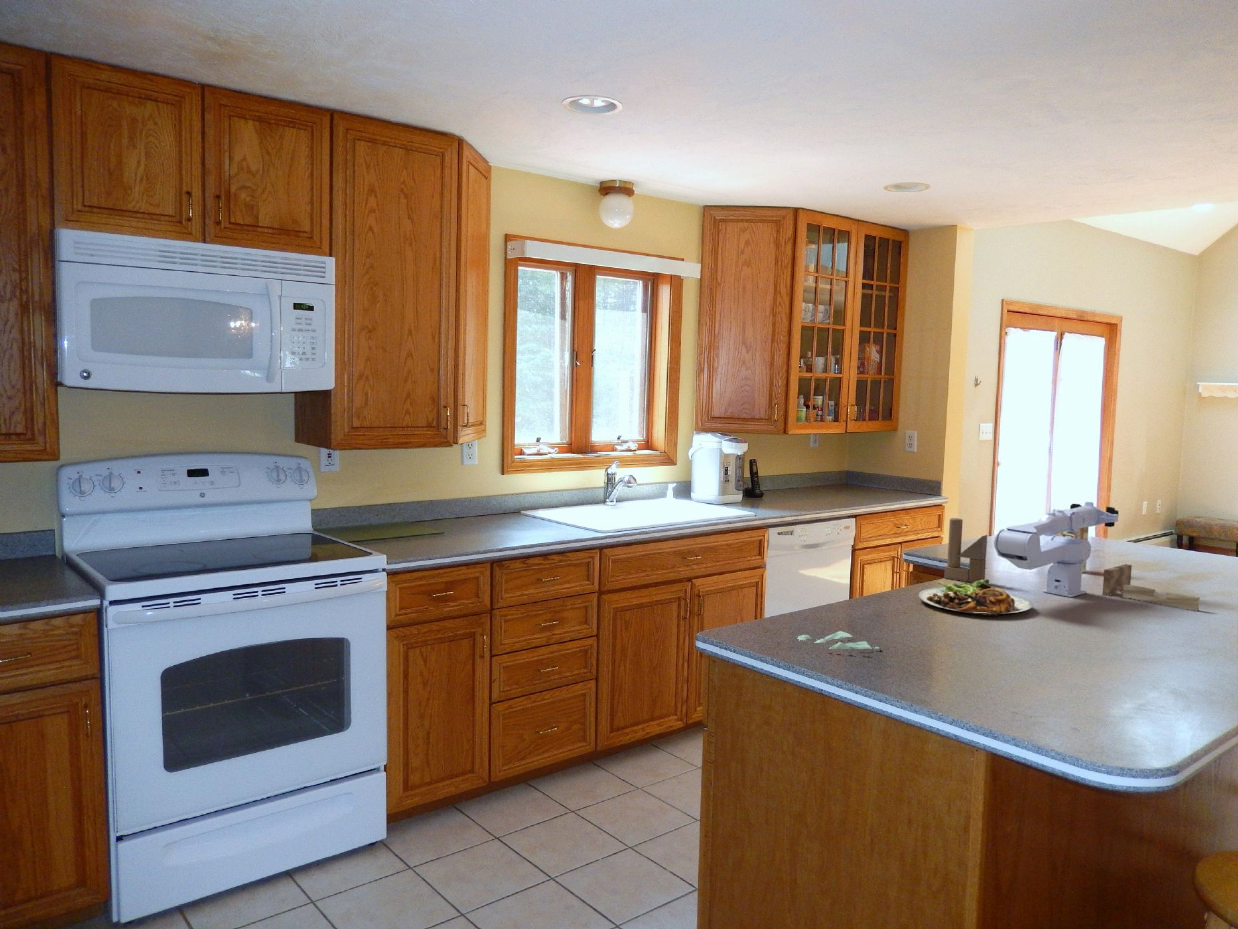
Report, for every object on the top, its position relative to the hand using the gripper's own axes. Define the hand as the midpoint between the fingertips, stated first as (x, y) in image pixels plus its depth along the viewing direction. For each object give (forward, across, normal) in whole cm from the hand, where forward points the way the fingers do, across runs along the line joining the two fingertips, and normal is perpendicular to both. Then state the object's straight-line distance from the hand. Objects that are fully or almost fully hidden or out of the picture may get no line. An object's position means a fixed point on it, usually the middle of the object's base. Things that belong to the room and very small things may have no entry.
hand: (1103, 512), depth 259 cm
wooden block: (-30, +25, +20) cm, 44 cm away
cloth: (-114, +2, +19) cm, 116 cm away
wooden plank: (-7, -7, +21) cm, 23 cm away
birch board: (-11, -20, +21) cm, 32 cm away
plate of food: (-56, +7, +20) cm, 60 cm away
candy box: (+12, +15, +21) cm, 29 cm away
